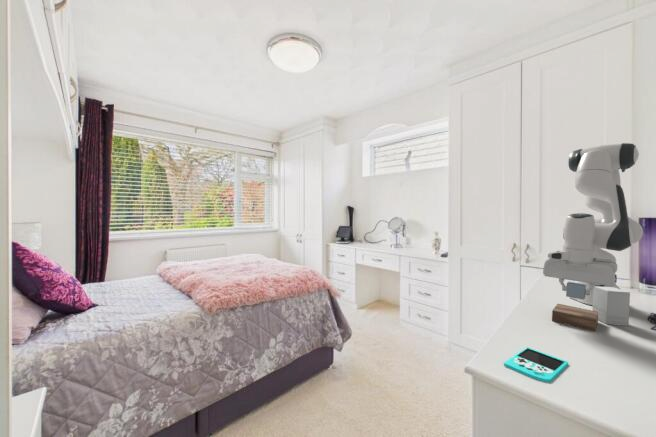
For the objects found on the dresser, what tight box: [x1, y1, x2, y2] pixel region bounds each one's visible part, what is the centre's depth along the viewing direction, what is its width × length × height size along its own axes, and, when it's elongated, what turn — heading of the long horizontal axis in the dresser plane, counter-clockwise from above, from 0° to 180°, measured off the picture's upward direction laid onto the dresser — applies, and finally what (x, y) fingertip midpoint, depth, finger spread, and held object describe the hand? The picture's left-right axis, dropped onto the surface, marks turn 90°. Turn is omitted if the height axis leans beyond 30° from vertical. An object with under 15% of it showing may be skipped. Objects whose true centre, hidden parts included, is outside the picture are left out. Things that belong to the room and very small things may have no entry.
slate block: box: [565, 281, 586, 300], centre depth 105 cm, size 5×5×5 cm
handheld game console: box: [503, 346, 569, 383], centre depth 75 cm, size 10×16×1 cm, turn 125°
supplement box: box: [592, 286, 631, 327], centre depth 106 cm, size 7×7×13 cm
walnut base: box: [551, 303, 599, 332], centre depth 105 cm, size 12×12×4 cm
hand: (575, 292), depth 105 cm, fingers closed on slate block, 5 cm apart
